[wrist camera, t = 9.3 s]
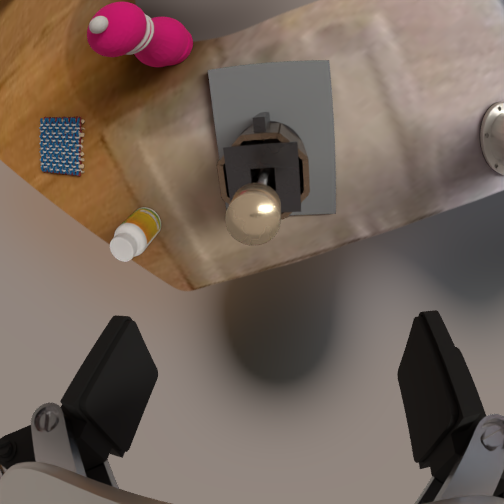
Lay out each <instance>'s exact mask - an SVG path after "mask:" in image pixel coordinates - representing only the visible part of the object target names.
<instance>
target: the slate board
mask: <svg viewBox="0 0 504 504" xmlns="http://www.w3.org/2000/svg"><path fill="white" fill-rule="evenodd" d="M208 76H209V84H210V92H211V100H212V108H213V115H214V123H215V131H216V138H217V146H218V153H219V160H220V159H221V158H222V157H223V155H224V152H223V147H227V146H232V144H233V143H234V142H235V141H236V139H237V138H238V137H239V136H240V135H241V133H242V132H243V131H244V130H245V129H247V128H248V127H249V126H251V125H253V117H254V116H256V115H257V114H259V113H261V112H269V115H270V121H276V122H280V123H283V124H285V125H287V126H289V127H290V128H292V129H293V130H294V131H295V132H296V133H297V134H298V135H299V137H300V138H301V140H302V142H303V144H304V147H305V150H306V153H307V156H308V160H309V181H310V193H309V195H308V196H307V197H306V198H305V199H304V200H303V201H302V202H301V212H292V213H291V214H290V215H309V214H336V166H335V136H334V117H333V101H332V88H331V76H330V65H329V60H312V61H286V62H271V63H259V64H249V65H241V66H233V67H225V68H218V69H212V70H208ZM225 203H226V202H225ZM228 207H229V204H228V203H226V210H227V209H228Z"/></svg>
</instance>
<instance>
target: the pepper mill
mask: <svg viewBox="0 0 504 504" xmlns="http://www.w3.org/2000/svg"><path fill="white" fill-rule="evenodd" d="M87 39H88V43H89V45H90V47H91V48H92V49H93V50H94V51H95V52H97V53H98V54H100V55H102V56H107V57H117V56H122V55H124V54H127V55H130V54H134V55H135V56H136V57H137V58H138V59H139V60H140V61H141V62H142V63H144V64H146V65H148V66H152V67H164V66H171V65H176V64H179V63H181V62H182V61H184V60H185V59H186V58H187V57H188V55H189V54H190V52H191V50H192V47H193V39H192V36H191V34H190V33H189V32H188V31H187V30H186V29H185V27H184V26H183V25H182V24H181V23H180V22H179V21H177V20H175V19H172V18H169V17H155V18H152V19H151V18H150V17H149V16H147V15H145V14H144V13H143V11H142V10H141V9H140V8H139V7H138V6H136V5H134V4H132V3H129V2H115V3H112V4H109V5H107V6H105V7H103V8H102V9H100V10H99V11H98V12H97V13H96V14H95V15H94V16H93V18H92V20H91V21H90V24H89V26H88V30H87Z"/></svg>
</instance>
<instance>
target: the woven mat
mask: <svg viewBox="0 0 504 504" xmlns="http://www.w3.org/2000/svg"><path fill="white" fill-rule="evenodd" d="M40 122H41V124H40V126H41V127H39V129H40V132H41V135H40V136H39V137H40V138H41V139H40V141H41V143H39V144H40V146H41V148H40V149H41V151H39V152H41V154H40V155H41V156H42V157H41V159H40V160H41V162H42V163H40V164H41V165H42V166H40V167H41V169H42V171H43V172H46V171H47V173H48V172H50V173H56V174H58V173H59V174H61V173H62V174H65V175H67V174H70V175H72V176H73V175H75V174H76V176H81V173H84V171H82V170H81V169H82V168H84V164H82V162H81V161H84V159H83V158H81V156H83V155H84V153H83V152H81V149H83V146H82V145H81V142H83V139H82V137H84V133H82V131H81V130H85V128H83V127H81V123H82V124H83V123H84V122H85V121H84V119H81V117H79V118H78V117H76V119H75V117H72V118H71V117H68V118H67V117H62V118H61V117H56V118H54V117H52V118H51V117H49V118H48V117H44V120H43V119H42V118H41V119H40ZM43 153H44V154H43ZM43 157H44V158H43ZM43 168H44V169H43Z"/></svg>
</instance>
